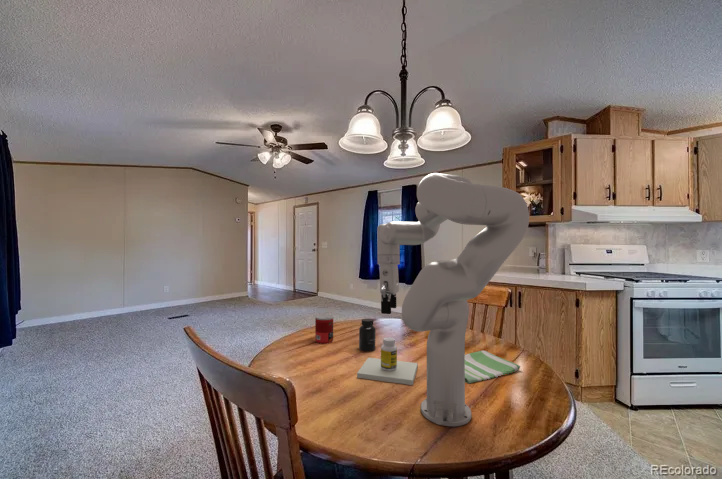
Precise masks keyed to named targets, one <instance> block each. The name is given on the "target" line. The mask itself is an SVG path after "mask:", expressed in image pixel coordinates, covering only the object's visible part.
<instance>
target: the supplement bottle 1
mask: <svg viewBox="0 0 722 479" xmlns="http://www.w3.org/2000/svg"><path fill="white" fill-rule="evenodd" d="M358 328H359V329H358V335H359V336H358V348H359V350H360V351H361V352H362V351H363V352H373V351H375V349H376V332H377V330H376V327H375V326H374V319H372V318H362V319H361V325H360V326H359V327H358Z"/></svg>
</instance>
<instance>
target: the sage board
mask: <svg viewBox="0 0 722 479" xmlns="http://www.w3.org/2000/svg"><path fill="white" fill-rule="evenodd" d="M418 368H419V366H418V362H411V361H402V360H397V368H396V369H395V370H393V371H386V370H383V369H382V368H381V358H377V357H376V358H375V357H367V358H366V360H365V361H364V363H363V364H362V365H361V367H360V368H359V369H358V371H357V372H356V379H357V378H358V379H365V380H372V381H378V382H388V383H393V384H394V383H395V384H403V385H410V386H414V381H415V378H416V374H417V370H418Z"/></svg>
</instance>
